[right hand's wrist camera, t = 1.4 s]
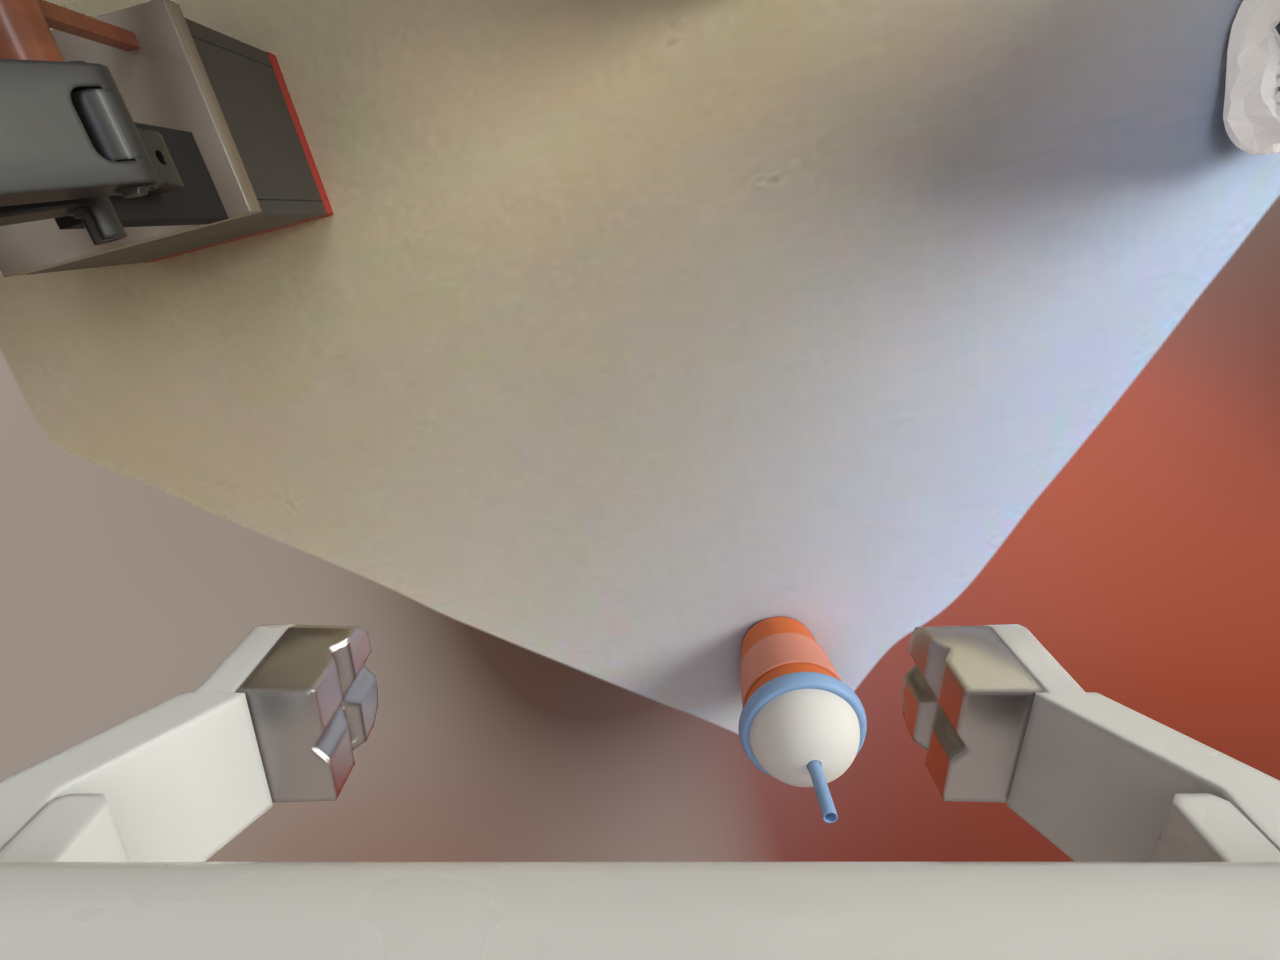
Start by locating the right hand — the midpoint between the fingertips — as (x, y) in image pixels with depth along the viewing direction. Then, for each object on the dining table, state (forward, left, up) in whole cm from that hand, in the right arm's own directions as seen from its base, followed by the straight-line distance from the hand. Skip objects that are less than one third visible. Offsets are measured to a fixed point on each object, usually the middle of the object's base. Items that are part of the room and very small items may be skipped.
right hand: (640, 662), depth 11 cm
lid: (-12, -27, -31) cm, 43 cm away
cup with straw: (+29, +9, -42) cm, 52 cm away
